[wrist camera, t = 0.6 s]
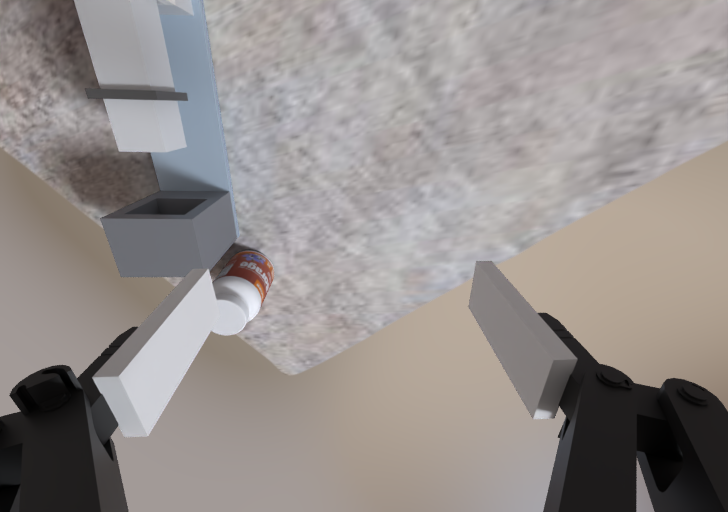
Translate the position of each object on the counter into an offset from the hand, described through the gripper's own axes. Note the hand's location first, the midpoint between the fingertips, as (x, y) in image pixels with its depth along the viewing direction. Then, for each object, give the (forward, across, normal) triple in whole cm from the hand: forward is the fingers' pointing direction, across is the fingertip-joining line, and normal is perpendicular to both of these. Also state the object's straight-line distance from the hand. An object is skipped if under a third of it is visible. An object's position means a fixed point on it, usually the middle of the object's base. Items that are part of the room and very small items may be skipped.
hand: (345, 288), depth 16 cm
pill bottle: (+25, -13, -12) cm, 31 cm away
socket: (+24, -18, -4) cm, 31 cm away
